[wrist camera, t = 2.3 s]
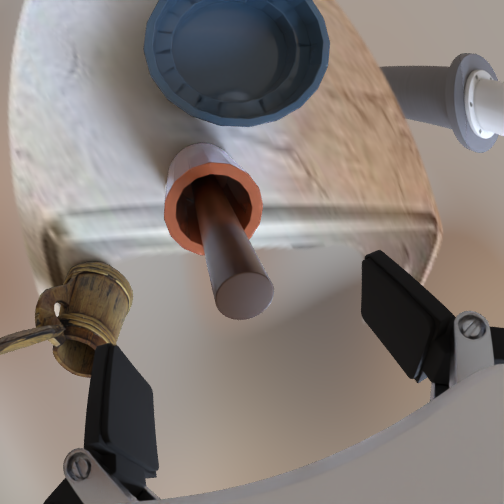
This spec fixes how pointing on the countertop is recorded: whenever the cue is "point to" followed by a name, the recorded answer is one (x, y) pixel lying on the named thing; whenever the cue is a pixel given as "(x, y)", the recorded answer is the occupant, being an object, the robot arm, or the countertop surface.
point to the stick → (229, 254)
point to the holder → (231, 181)
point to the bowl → (237, 57)
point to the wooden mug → (78, 316)
